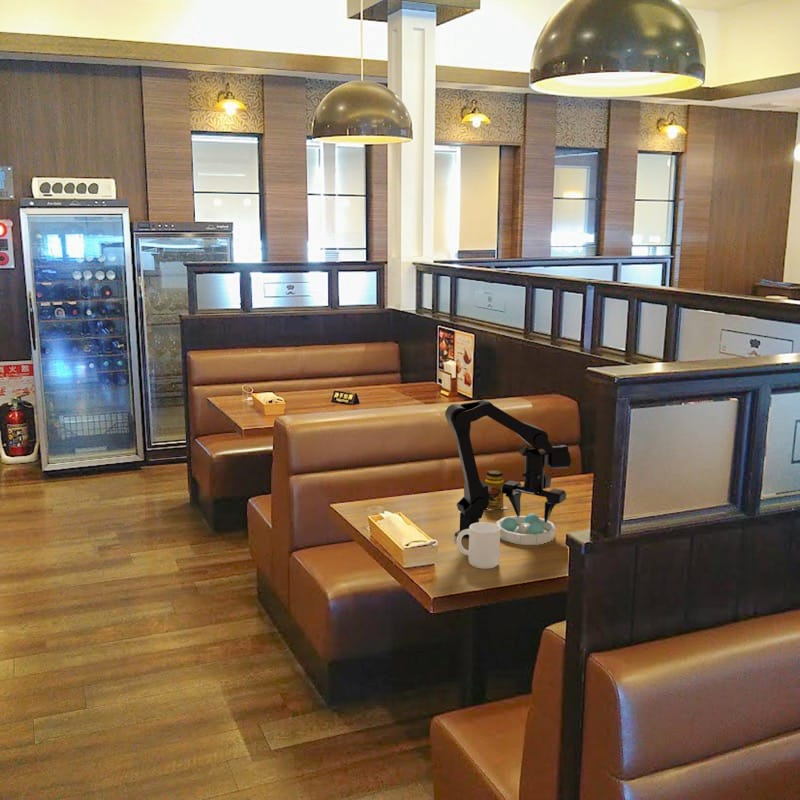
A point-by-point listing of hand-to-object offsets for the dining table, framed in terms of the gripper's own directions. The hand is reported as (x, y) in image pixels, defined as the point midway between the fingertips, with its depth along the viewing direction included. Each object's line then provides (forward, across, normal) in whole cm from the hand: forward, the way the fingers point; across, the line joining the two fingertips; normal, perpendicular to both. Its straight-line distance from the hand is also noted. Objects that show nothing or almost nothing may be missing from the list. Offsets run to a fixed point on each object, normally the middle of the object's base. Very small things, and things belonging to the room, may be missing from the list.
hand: (532, 519), depth 253 cm
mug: (+4, +2, +32) cm, 32 cm away
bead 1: (0, +4, +7) cm, 8 cm away
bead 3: (0, -4, +7) cm, 8 cm away
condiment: (+4, +20, -14) cm, 25 cm away
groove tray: (+4, 0, +5) cm, 6 cm away
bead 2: (0, 0, 0) cm, 0 cm away
